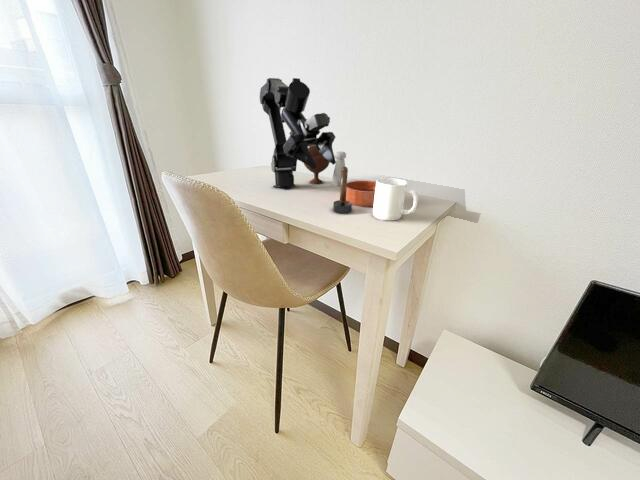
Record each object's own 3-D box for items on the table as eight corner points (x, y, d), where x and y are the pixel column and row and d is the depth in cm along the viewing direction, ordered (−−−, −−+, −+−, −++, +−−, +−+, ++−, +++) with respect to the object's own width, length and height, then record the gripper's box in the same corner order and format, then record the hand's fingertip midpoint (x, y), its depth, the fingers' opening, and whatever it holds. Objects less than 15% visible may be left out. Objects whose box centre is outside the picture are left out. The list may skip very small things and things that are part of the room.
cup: (378, 208, 81) (383, 176, 76) (417, 217, 75) (424, 182, 70) (367, 216, 75) (371, 182, 70) (409, 226, 69) (416, 189, 64)
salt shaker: (343, 182, 108) (344, 150, 102) (348, 186, 104) (350, 152, 98) (330, 183, 107) (331, 150, 101) (334, 187, 102) (336, 153, 96)
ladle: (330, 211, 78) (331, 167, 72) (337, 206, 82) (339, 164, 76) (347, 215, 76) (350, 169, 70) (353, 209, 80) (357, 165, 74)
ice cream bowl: (329, 186, 103) (330, 146, 97) (301, 185, 104) (301, 146, 97) (329, 179, 113) (330, 143, 106) (303, 179, 113) (303, 142, 106)
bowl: (336, 202, 85) (337, 188, 83) (351, 191, 97) (352, 178, 94) (379, 210, 80) (381, 194, 77) (389, 197, 91) (392, 183, 89)
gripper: (288, 101, 65) (322, 151, 64) (331, 103, 79) (360, 144, 78) (269, 132, 73) (299, 177, 72) (311, 129, 87) (337, 167, 85)
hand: (325, 165), depth 77 cm, fingers open, 9 cm apart
